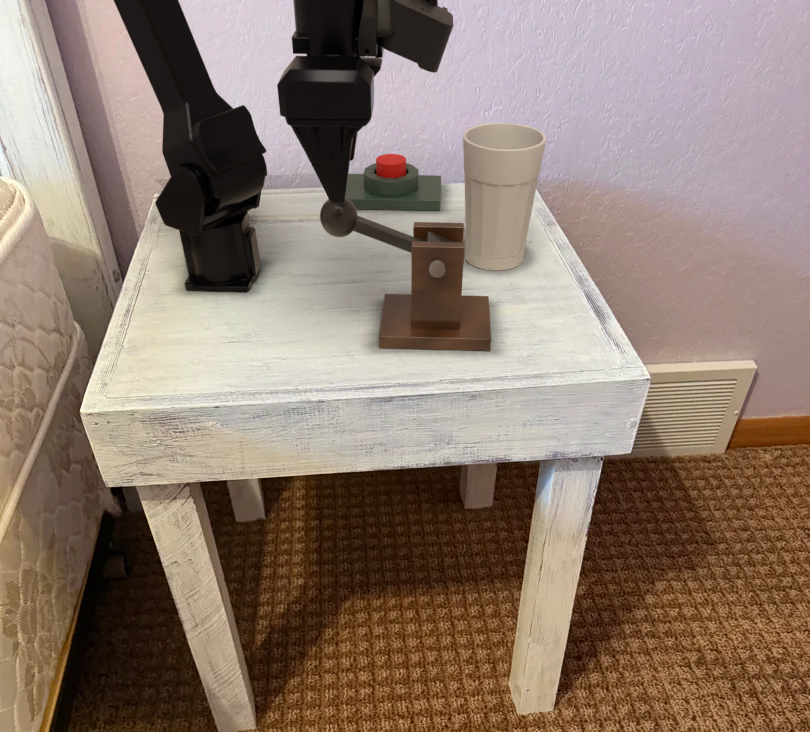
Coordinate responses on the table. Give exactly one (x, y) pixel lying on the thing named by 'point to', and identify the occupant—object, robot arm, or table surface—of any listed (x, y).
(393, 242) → the lever
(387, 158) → the button
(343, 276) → the table surface
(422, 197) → the button block
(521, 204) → the cup
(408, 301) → the bracket
